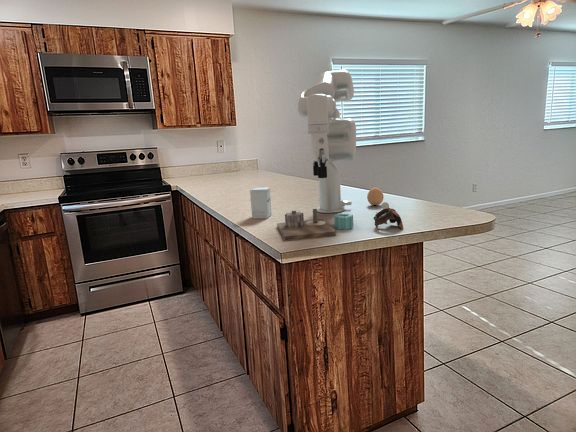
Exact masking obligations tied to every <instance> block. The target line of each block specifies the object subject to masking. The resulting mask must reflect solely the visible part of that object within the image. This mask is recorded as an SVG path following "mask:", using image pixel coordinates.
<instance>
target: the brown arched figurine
mask: <svg viewBox="0 0 576 432" xmlns="http://www.w3.org/2000/svg"><path fill="white" fill-rule="evenodd" d="M377 212H378V213H376V214H375V215H374V217H373V220H374V226H375V227H376V228H378V227H379V226H381V225H387V224H388V221H389V223H390V224H395V223H396V225H398V226H397V227H400V230H403V229H404V224H403V220H402V218H401V215H400V214H399V213H398V211H396V209H394V208H392V207H391V208H390V207H389V208H386V209H381V210H379V211H377ZM385 213H386V214H385ZM383 214H385V215H384V216H382V215H383ZM380 216H382V217H380ZM379 217H380V218H379Z"/></svg>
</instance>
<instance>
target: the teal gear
mask: <svg viewBox="0 0 576 432" xmlns="http://www.w3.org/2000/svg"><path fill="white" fill-rule="evenodd" d="M333 219H334V228H335V229H337V230H350V229H353V228H354V214H351V213H339V214H338V213H337V214H336V213H335V214H334V218H333Z"/></svg>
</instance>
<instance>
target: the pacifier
mask: <svg viewBox="0 0 576 432" xmlns="http://www.w3.org/2000/svg"><path fill="white" fill-rule="evenodd" d="M386 208H390V205H389V203H388V202H387V201H386V202H385V201H384V202H382V203H381V210H383V209H386ZM378 212H379V211H375V213H376V214H377V213H378ZM385 214H386V213H385ZM385 214H383V215H382V216H384V215H385ZM382 216H380V217H382ZM380 217H379V218H380Z"/></svg>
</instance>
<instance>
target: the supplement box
mask: <svg viewBox="0 0 576 432" xmlns="http://www.w3.org/2000/svg"><path fill="white" fill-rule="evenodd" d="M249 193H250V194H249V195H250V209H251V218H252V219H269V218H270V216H272V214H273V213H272V198H271V187H270V186H267V187H265V186H264V187H263V186H261V187H253V188H252V189H250V191H249Z"/></svg>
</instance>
